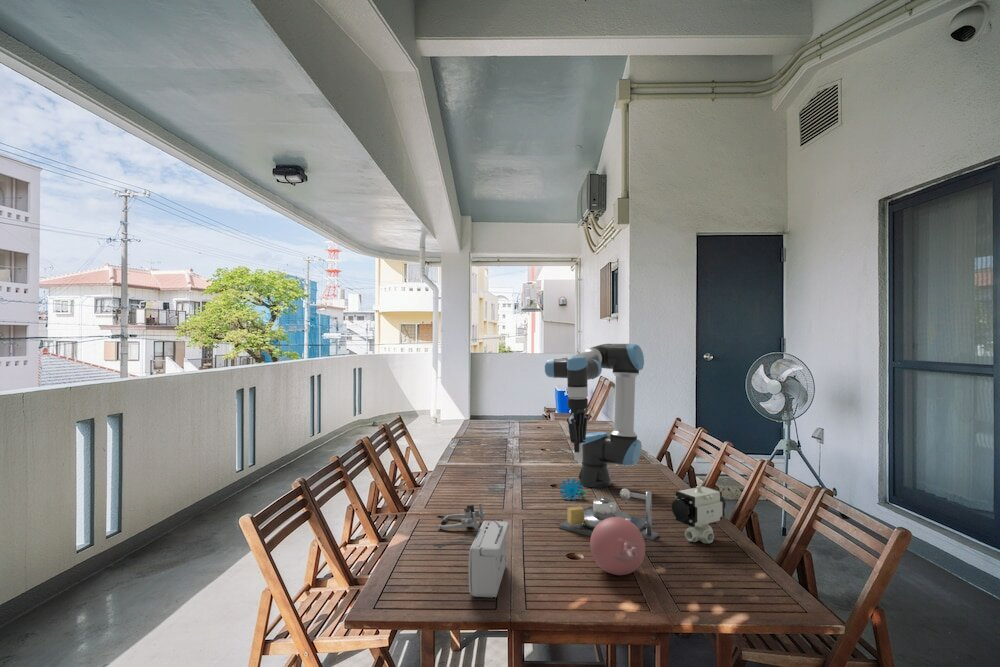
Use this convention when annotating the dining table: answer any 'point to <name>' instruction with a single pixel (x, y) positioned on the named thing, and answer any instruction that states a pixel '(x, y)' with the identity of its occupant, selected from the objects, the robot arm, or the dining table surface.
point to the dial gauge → (646, 533)
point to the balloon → (617, 546)
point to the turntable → (588, 516)
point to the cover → (604, 508)
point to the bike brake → (469, 518)
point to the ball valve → (699, 511)
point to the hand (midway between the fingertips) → (578, 460)
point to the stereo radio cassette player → (488, 559)
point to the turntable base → (584, 530)
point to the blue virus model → (572, 489)
